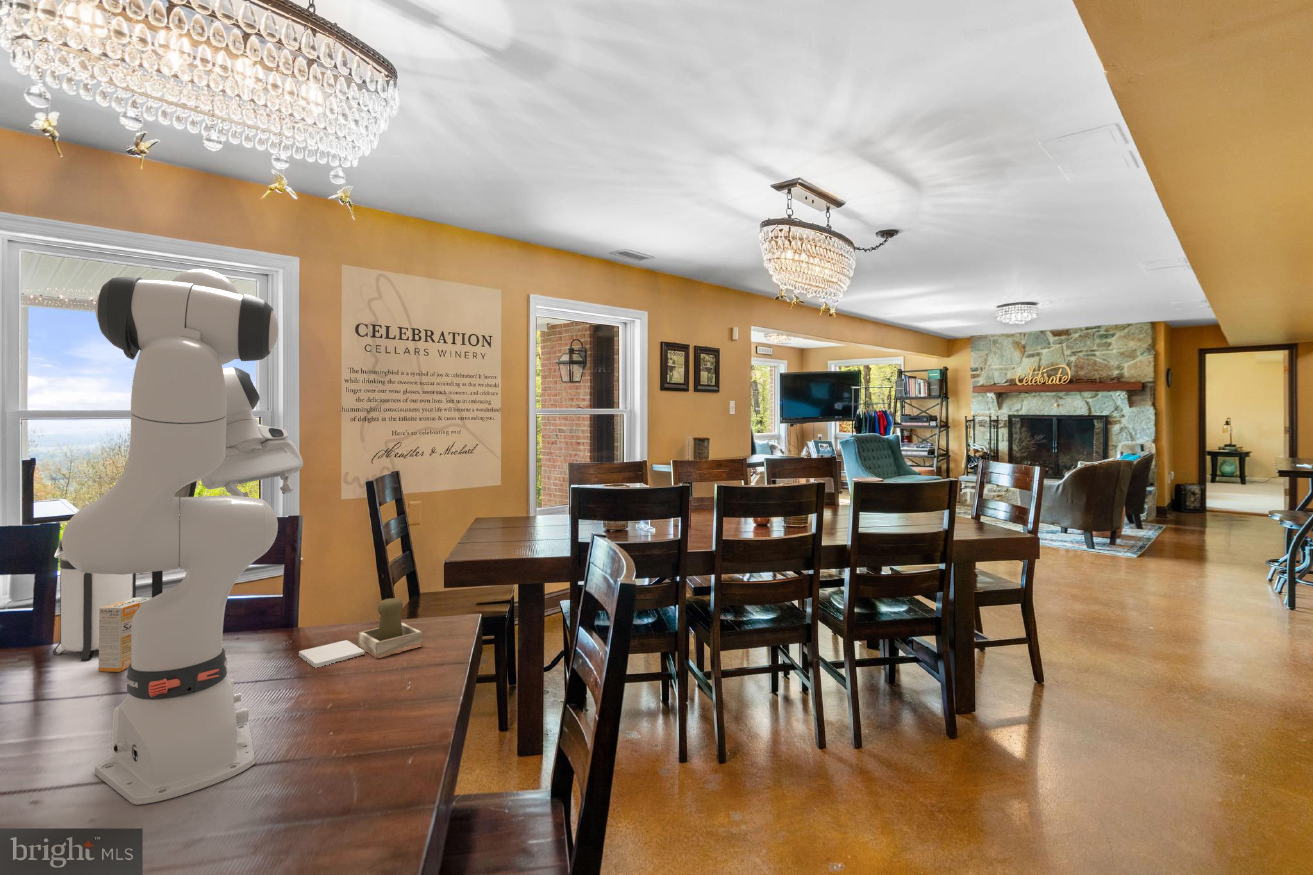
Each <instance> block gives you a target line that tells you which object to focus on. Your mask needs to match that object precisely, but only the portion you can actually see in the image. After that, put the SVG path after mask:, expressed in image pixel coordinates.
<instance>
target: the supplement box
mask: <svg viewBox="0 0 1313 875" xmlns="http://www.w3.org/2000/svg"><path fill="white" fill-rule="evenodd" d="M151 598H152V597H145V596H144V597H139V596H138V597H136V598H132V599H129V600H125V601H122V602H118V603H115V604H112V605H108V606H105V607H100V608H99V649H98V671H99V672H109V673H110V672H111V673H112V672H115V673H120V672H123V671H125V670H128V666H129V665H130V664H131V622H132V618H133V616H134V614H135V613H136V611H137V610H138V609H139V607H141V606H142V605H143V604H144V603H145V602H147V601H148V600H150V599H151Z"/></svg>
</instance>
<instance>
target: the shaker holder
mask: <svg viewBox="0 0 1313 875" xmlns="http://www.w3.org/2000/svg"><path fill="white" fill-rule="evenodd" d="M401 624H402V632H403V636H399V637H395V638H391V639H387V640H383V641H378V640H377V637H378V630H379V627H375V628H371V629H365V630H363V631H358V632H357V634H358V635H357V646H358V645H359V646H360V647H362V648H364V649H366V650H367V651H369V652H370V653H373V654H375V655H376V656H380V655H383V654H386V653H390V652H392V651H396V650H398V649H402V648H404V647H408V646H410V645H414V644H418V643H420V642H422V643H423V631H421V630H420V629H416V628H415V627H412V626H410V625H408V624H406V623H404V622H402V621H401Z"/></svg>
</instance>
